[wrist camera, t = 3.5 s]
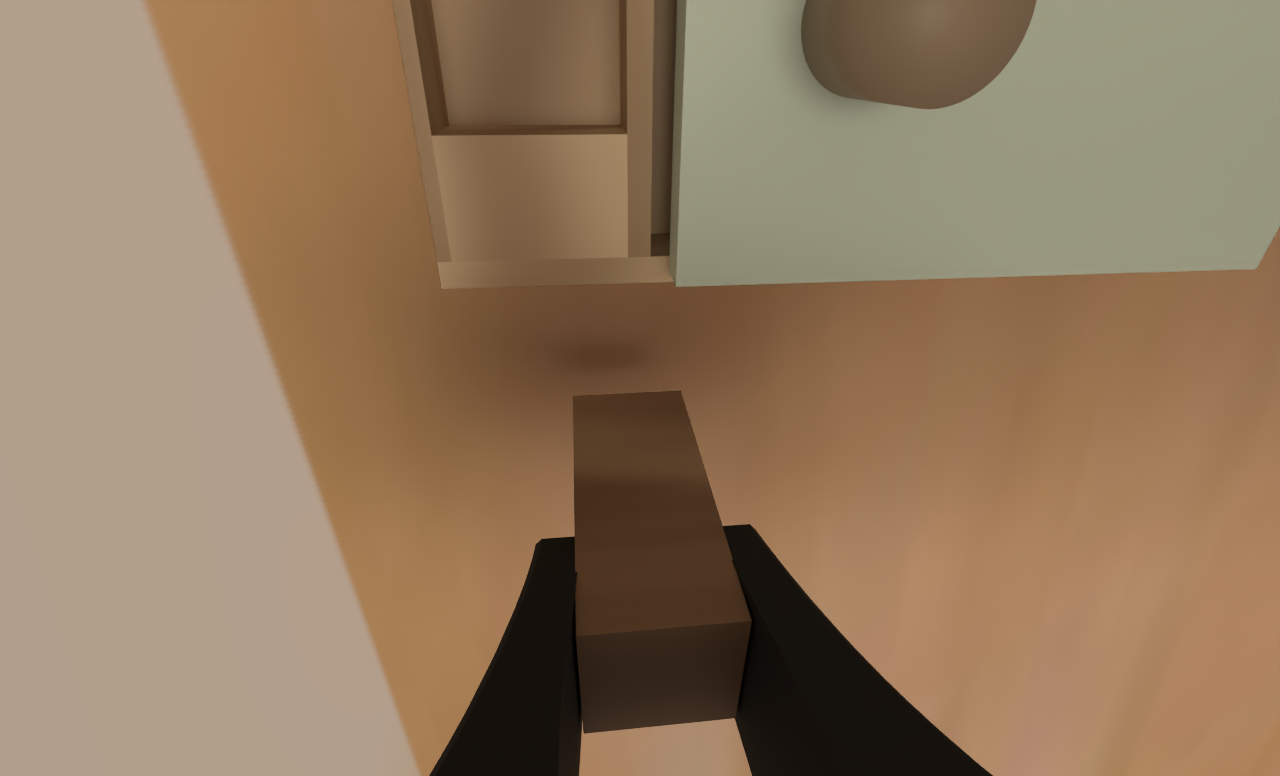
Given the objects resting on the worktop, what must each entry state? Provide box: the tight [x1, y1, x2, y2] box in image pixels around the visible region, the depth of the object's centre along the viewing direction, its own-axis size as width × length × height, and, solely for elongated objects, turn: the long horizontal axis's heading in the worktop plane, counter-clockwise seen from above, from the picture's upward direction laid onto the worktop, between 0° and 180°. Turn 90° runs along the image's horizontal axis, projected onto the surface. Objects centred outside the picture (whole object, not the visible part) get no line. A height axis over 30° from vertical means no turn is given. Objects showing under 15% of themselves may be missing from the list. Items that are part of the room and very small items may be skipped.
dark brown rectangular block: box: [573, 391, 752, 733], centre depth 11 cm, size 2×2×6 cm
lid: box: [669, 0, 1280, 287], centre depth 10 cm, size 13×9×4 cm
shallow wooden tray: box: [392, 0, 677, 289], centre depth 12 cm, size 20×10×2 cm, turn 89°
